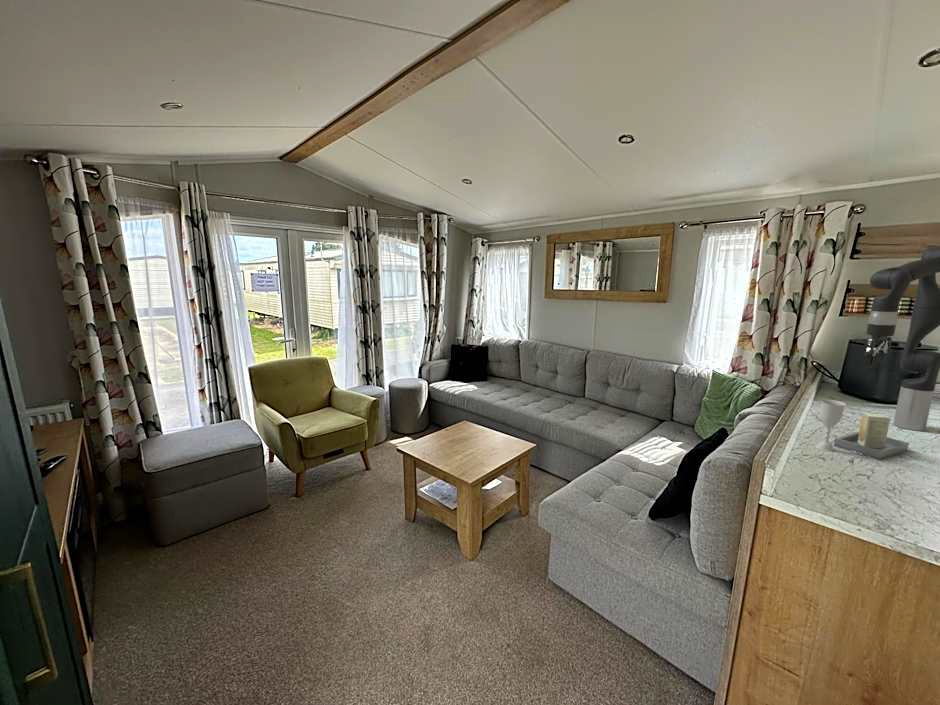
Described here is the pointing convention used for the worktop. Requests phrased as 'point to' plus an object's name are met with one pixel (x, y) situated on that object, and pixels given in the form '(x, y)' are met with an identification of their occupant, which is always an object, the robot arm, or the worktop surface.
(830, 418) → the chalice
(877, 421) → the skincare box
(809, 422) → the worktop surface
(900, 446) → the tray
